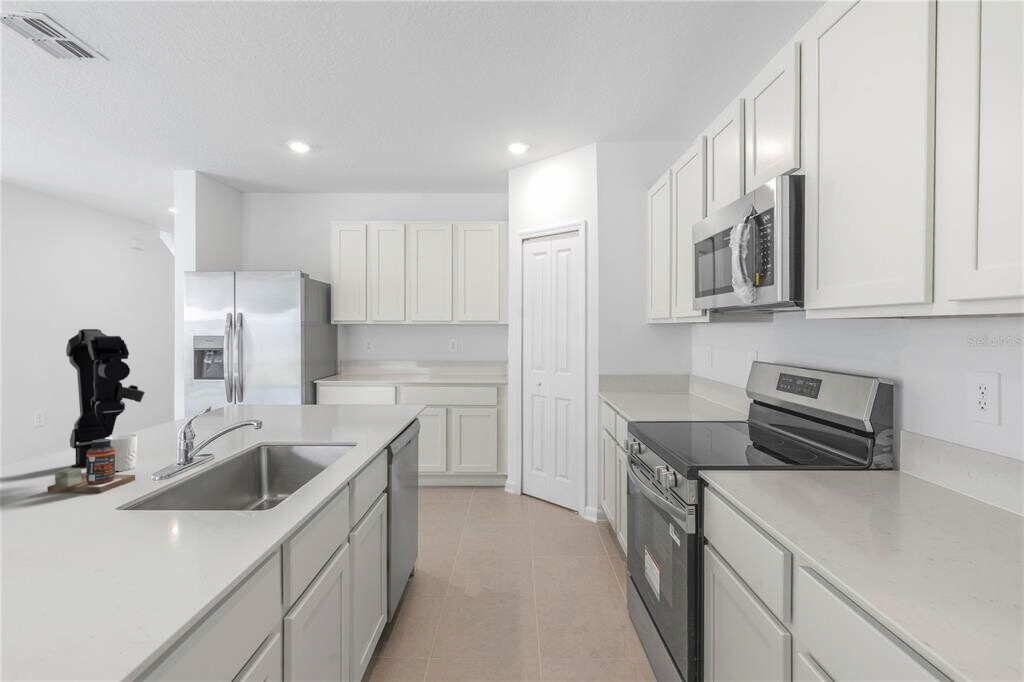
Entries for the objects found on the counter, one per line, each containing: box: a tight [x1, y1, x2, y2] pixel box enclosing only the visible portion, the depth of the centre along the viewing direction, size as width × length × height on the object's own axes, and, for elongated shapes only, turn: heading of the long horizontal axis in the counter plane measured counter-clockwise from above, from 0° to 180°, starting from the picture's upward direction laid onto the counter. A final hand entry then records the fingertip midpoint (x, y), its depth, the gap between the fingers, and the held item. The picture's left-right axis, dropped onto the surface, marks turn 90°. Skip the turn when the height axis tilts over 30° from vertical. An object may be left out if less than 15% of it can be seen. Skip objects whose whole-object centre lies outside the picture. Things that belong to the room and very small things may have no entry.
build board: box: [46, 467, 136, 494], centre depth 130 cm, size 14×11×5 cm
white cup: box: [105, 433, 139, 472], centre depth 146 cm, size 8×8×10 cm
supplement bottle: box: [85, 439, 116, 484], centre depth 128 cm, size 6×6×11 cm
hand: (107, 432), depth 138 cm, fingers open, 9 cm apart
